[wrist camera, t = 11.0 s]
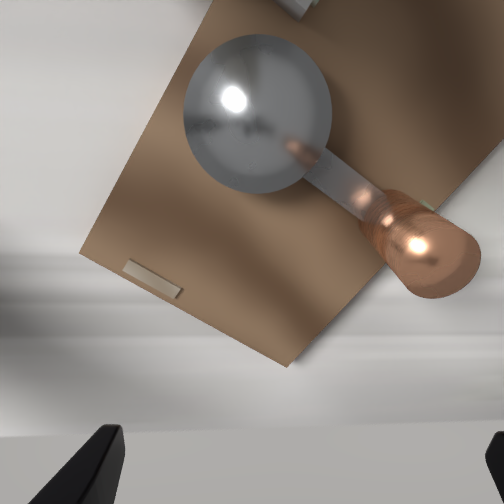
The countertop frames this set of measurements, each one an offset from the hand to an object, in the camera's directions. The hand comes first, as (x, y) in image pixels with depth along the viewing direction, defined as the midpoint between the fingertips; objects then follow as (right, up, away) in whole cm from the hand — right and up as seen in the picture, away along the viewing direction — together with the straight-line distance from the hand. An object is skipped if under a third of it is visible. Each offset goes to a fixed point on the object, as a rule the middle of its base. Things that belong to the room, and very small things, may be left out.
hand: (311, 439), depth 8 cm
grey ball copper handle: (+1, +9, +8) cm, 12 cm away
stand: (+1, +9, +9) cm, 13 cm away
